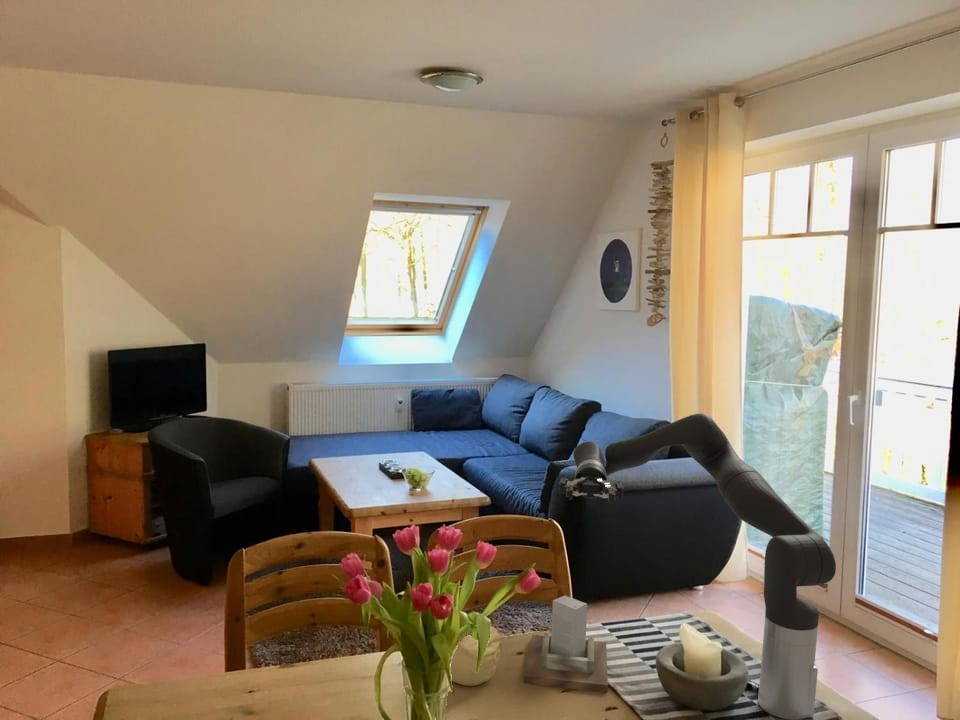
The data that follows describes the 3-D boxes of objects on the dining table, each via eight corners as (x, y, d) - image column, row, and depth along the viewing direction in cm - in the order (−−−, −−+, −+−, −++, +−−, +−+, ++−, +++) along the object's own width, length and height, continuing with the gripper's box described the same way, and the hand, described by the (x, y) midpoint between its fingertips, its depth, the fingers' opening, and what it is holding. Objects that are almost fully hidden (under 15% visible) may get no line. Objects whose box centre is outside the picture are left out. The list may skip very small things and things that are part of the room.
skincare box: (585, 660, 159) (588, 603, 158) (572, 666, 156) (575, 609, 155) (561, 649, 163) (564, 594, 162) (548, 655, 160) (551, 600, 159)
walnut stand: (605, 648, 168) (606, 631, 167) (607, 692, 150) (608, 672, 150) (531, 641, 170) (532, 623, 169) (524, 683, 152) (525, 663, 152)
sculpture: (479, 699, 146) (481, 644, 144) (427, 680, 152) (428, 627, 151) (509, 674, 155) (511, 622, 154) (459, 657, 162) (461, 607, 160)
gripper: (561, 460, 185) (558, 477, 169) (622, 464, 183) (625, 482, 167) (559, 491, 186) (556, 511, 170) (620, 495, 184) (622, 516, 168)
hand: (590, 496), depth 169 cm, fingers open, 8 cm apart
